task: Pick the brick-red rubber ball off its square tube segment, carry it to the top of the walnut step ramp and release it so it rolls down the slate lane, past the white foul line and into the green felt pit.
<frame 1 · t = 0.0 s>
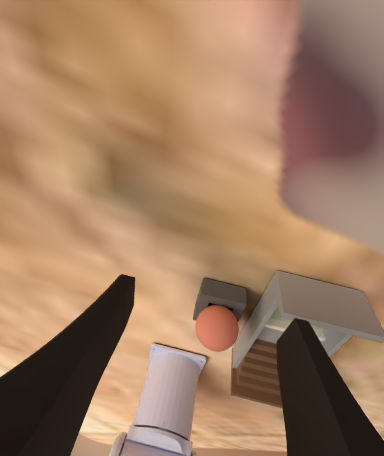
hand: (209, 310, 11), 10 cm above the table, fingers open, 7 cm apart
slate lane: (295, 312, 25), on the table
square tube segment: (219, 296, 25), on the table
brick-red rubber ball: (216, 327, 22), point 4 cm above the table, touching square tube segment
walnut step ramp: (270, 345, 29), on the table
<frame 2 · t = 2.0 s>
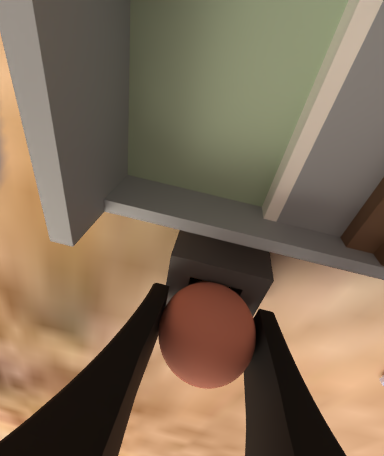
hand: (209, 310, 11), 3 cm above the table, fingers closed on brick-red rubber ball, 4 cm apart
slate lane: (254, 106, 8), on the table
square tube segment: (214, 269, 13), on the table
brick-red rubber ball: (206, 330, 10), point 4 cm above the table, touching square tube segment, gripper
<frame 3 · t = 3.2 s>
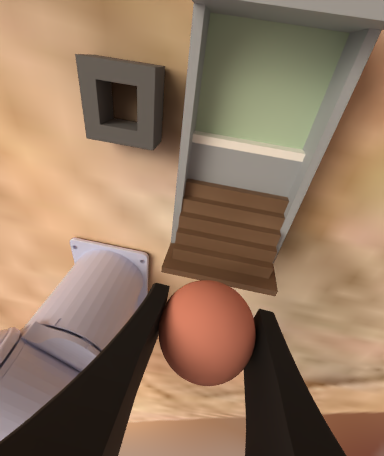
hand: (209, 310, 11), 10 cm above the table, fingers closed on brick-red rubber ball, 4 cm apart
slate lane: (254, 114, 15), on the table
square tube segment: (130, 101, 15), on the table
brick-red rubber ball: (206, 328, 10), point 11 cm above the table, touching gripper
walnut step ramp: (229, 209, 19), on the table
when the fingers open (6 cm above the table, at t = 4.1 s): brick-red rubber ball drops 5 cm and tips over, resting on slate lane.
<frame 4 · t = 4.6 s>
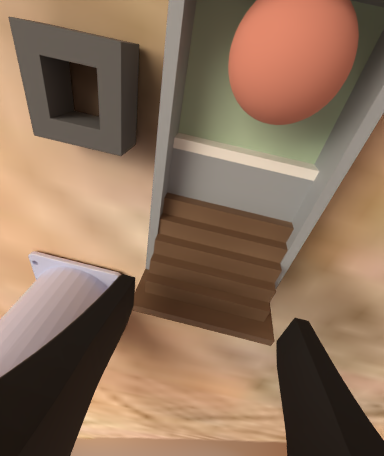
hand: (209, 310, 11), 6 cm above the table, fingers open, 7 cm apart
slate lane: (255, 115, 11), on the table
square tube segment: (94, 90, 12), on the table
brick-red rubber ball: (287, 61, 8), point 2 cm above the table, tilted 70°, touching slate lane
walnut step ramp: (219, 230, 15), on the table
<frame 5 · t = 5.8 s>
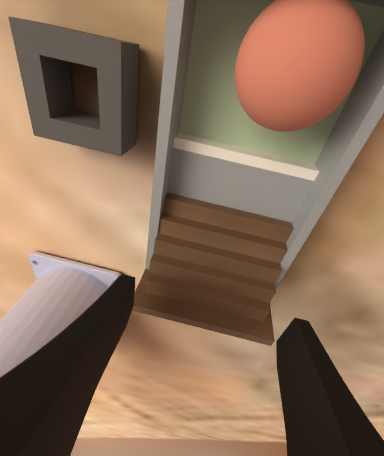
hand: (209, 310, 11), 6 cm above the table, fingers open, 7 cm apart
slate lane: (255, 115, 11), on the table
square tube segment: (94, 90, 12), on the table
brick-red rubber ball: (293, 69, 8), point 2 cm above the table, tilted 76°, touching slate lane
walnut step ramp: (219, 230, 15), on the table
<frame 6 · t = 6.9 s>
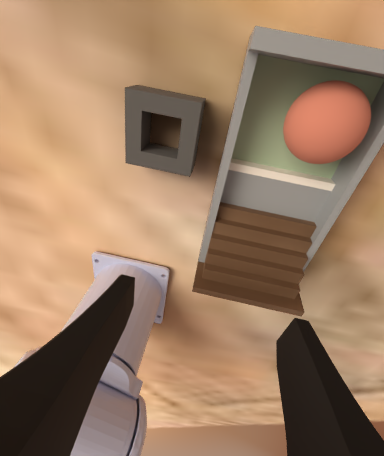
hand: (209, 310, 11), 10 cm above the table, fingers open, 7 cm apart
slate lane: (287, 144, 16), on the table
square tube segment: (167, 128, 16), on the table
brick-red rubber ball: (323, 124, 13), point 2 cm above the table, tilted 82°, touching slate lane
walnut step ramp: (254, 229, 20), on the table
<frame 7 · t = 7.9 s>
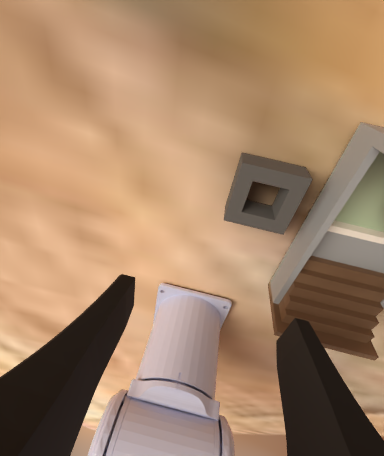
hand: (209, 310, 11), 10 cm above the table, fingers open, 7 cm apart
slate lane: (374, 208, 17), on the table
square tube segment: (262, 188, 17), on the table
walnut step ramp: (324, 273, 21), on the table
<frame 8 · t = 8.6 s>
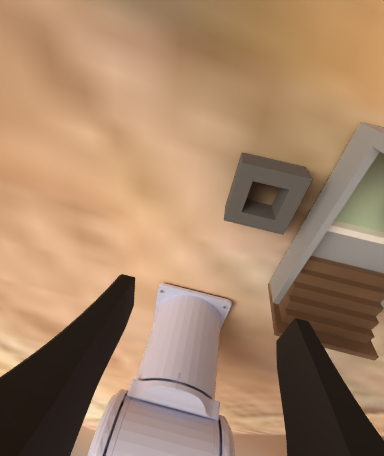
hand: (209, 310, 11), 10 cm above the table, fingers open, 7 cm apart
slate lane: (374, 208, 17), on the table
square tube segment: (262, 188, 17), on the table
walnut step ramp: (324, 273, 21), on the table
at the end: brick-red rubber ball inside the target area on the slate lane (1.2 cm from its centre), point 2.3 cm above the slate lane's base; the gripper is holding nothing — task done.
